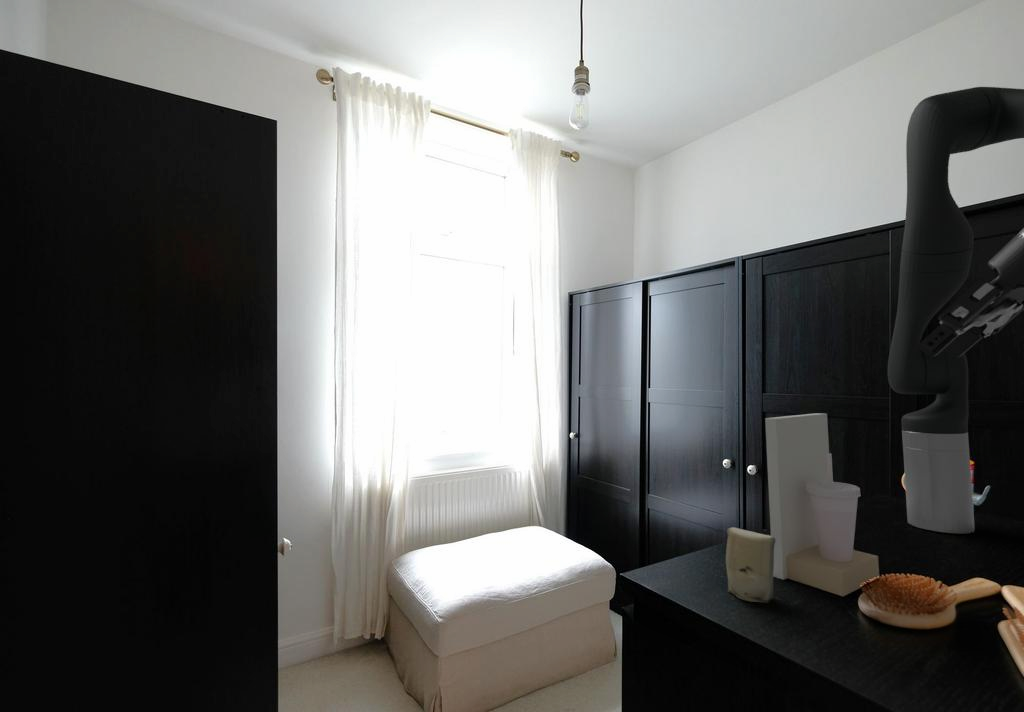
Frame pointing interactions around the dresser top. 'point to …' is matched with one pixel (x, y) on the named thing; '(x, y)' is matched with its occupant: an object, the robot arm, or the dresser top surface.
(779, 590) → the dresser top surface
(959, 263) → the robot arm
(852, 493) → the smoothie
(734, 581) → the cream rounded block
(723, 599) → the dresser top surface
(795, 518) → the wall board
